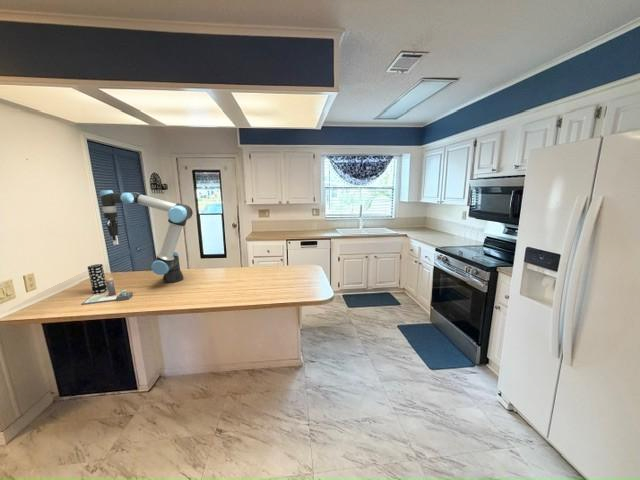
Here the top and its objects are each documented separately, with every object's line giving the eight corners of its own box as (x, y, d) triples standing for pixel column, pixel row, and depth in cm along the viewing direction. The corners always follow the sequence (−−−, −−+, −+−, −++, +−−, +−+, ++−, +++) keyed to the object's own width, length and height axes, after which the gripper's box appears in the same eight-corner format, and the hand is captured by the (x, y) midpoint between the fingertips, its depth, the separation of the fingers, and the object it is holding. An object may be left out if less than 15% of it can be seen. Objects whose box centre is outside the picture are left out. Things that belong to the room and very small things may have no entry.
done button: (128, 295, 186) (127, 289, 185) (126, 297, 183) (125, 291, 182) (122, 295, 185) (121, 289, 184) (120, 297, 182) (119, 291, 181)
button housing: (132, 295, 188) (132, 291, 188) (128, 299, 182) (128, 295, 181) (121, 297, 187) (120, 293, 186) (117, 301, 180) (116, 297, 179)
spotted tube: (90, 294, 192) (84, 268, 188) (96, 290, 200) (91, 264, 196) (104, 293, 194) (98, 266, 190) (109, 288, 202) (104, 263, 198)
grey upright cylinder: (117, 293, 191) (113, 277, 188) (114, 295, 187) (110, 279, 184) (110, 294, 190) (107, 278, 188) (107, 296, 186) (104, 279, 184)
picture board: (125, 292, 195) (125, 291, 195) (116, 300, 181) (116, 299, 181) (93, 296, 189) (92, 294, 189) (81, 305, 175) (81, 303, 175)
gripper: (108, 211, 195) (114, 243, 200) (99, 213, 183) (105, 246, 188) (120, 211, 197) (125, 242, 202) (112, 212, 185) (118, 245, 190)
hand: (116, 244), depth 195 cm, fingers closed
